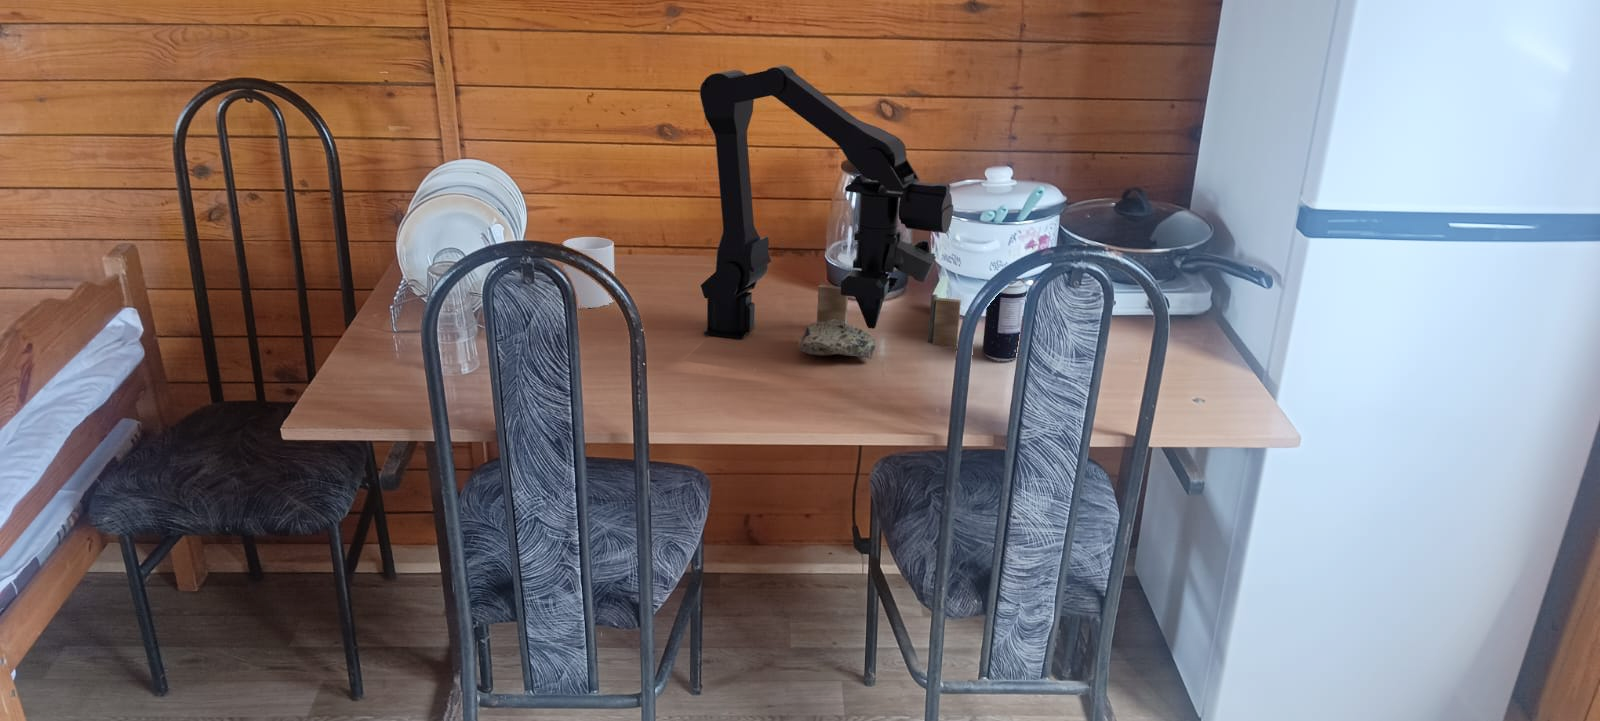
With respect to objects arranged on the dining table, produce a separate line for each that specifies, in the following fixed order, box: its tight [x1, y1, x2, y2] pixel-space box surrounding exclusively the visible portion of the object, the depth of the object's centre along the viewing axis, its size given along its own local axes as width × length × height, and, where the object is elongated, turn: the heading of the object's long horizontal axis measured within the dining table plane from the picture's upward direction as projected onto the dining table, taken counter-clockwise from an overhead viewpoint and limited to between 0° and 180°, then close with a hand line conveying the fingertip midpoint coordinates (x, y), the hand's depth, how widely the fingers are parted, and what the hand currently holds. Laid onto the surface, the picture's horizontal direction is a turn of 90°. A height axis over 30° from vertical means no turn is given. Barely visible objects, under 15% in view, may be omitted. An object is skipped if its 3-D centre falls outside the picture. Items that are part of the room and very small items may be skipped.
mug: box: [561, 236, 615, 310], centre depth 191 cm, size 12×8×10 cm
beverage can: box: [981, 278, 1028, 362], centre depth 171 cm, size 6×6×12 cm
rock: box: [797, 319, 876, 360], centre depth 170 cm, size 11×11×4 cm
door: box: [930, 275, 949, 311], centre depth 182 cm, size 12×1×7 cm, turn 166°
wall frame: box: [816, 284, 962, 347], centre depth 178 cm, size 22×1×8 cm, turn 75°
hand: (871, 327), depth 171 cm, fingers closed
